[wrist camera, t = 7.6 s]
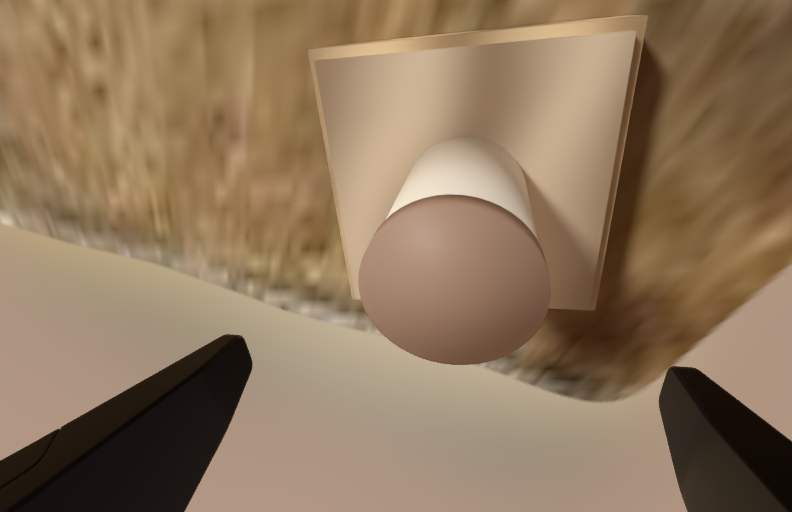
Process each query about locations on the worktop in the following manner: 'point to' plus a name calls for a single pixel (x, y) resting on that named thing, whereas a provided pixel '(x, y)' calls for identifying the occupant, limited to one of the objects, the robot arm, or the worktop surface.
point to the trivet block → (488, 128)
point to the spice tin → (458, 258)
